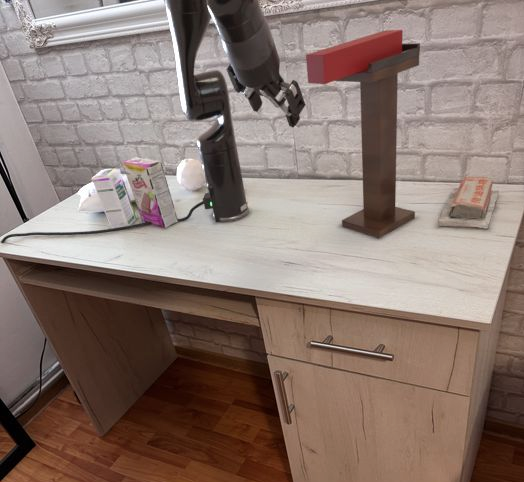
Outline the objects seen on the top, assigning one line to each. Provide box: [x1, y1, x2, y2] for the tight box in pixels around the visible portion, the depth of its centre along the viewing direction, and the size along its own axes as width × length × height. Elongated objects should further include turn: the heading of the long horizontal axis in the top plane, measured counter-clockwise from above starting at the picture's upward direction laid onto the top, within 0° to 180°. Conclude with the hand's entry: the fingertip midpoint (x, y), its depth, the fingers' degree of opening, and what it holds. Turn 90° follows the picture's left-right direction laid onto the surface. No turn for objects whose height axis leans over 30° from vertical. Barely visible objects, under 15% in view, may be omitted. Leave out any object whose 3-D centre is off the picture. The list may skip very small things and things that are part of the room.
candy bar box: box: [122, 156, 179, 229], centre depth 125 cm, size 11×5×16 cm, turn 47°
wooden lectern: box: [335, 42, 421, 240], centre depth 98 cm, size 13×11×34 cm
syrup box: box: [90, 167, 138, 229], centre depth 129 cm, size 6×6×14 cm
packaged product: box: [438, 176, 500, 230], centre depth 105 cm, size 18×5×10 cm
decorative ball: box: [175, 157, 206, 192], centre depth 144 cm, size 9×10×12 cm
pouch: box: [77, 174, 136, 214], centre depth 144 cm, size 8×19×20 cm
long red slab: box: [305, 29, 403, 85], centre depth 86 cm, size 20×4×4 cm, turn 128°
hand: (276, 115), depth 89 cm, fingers open, 8 cm apart
